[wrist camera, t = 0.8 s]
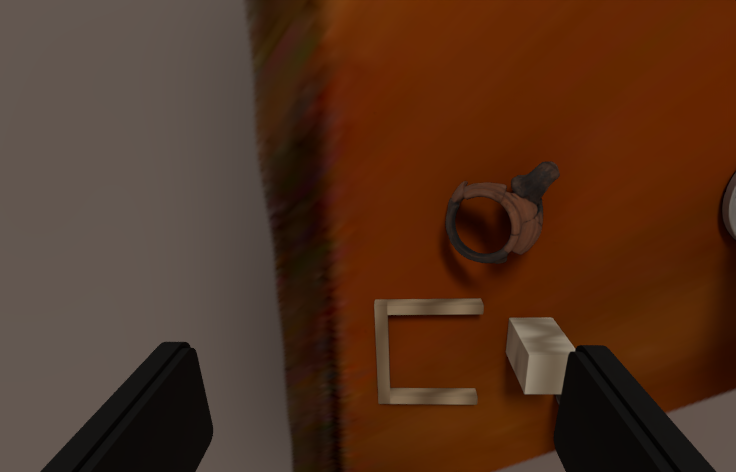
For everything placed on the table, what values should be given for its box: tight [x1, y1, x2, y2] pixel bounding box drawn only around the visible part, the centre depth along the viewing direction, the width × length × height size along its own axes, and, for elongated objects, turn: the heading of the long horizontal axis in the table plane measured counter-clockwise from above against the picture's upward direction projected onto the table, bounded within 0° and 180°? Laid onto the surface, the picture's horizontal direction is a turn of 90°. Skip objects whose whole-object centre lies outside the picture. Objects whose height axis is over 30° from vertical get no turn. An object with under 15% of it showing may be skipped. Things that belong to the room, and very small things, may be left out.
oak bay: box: [374, 299, 484, 405], centre depth 47 cm, size 12×14×2 cm
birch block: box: [506, 318, 575, 394], centre depth 43 cm, size 5×5×7 cm
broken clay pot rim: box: [446, 161, 560, 264], centre depth 38 cm, size 12×10×8 cm
